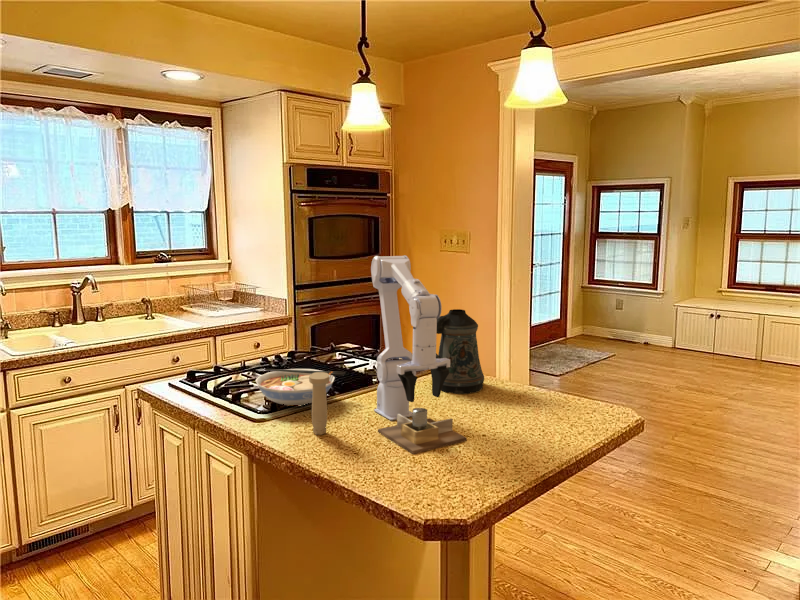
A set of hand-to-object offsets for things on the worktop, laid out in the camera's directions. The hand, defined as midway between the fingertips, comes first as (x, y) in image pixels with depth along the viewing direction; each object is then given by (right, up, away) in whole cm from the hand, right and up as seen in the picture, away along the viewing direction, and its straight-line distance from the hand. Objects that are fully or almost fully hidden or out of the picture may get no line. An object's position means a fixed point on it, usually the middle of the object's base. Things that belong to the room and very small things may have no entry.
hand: (423, 398), depth 147 cm
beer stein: (+12, -4, +45) cm, 47 cm away
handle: (-26, -10, +4) cm, 28 cm away
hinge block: (0, -10, +3) cm, 11 cm away
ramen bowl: (-36, -6, +27) cm, 46 cm away
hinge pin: (-1, -10, 0) cm, 10 cm away
